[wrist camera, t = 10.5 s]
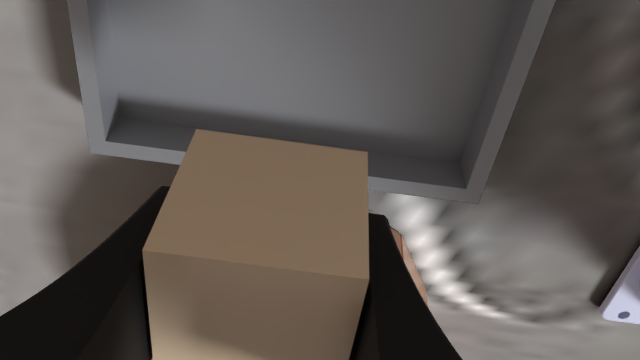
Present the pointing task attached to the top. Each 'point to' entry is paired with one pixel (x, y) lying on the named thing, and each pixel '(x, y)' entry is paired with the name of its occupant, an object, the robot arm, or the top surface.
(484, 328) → the top surface
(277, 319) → the beige cardboard cube
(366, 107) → the parts tray
